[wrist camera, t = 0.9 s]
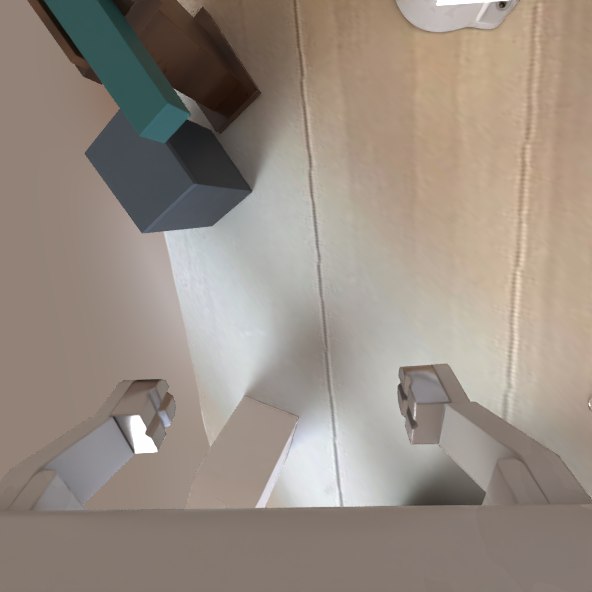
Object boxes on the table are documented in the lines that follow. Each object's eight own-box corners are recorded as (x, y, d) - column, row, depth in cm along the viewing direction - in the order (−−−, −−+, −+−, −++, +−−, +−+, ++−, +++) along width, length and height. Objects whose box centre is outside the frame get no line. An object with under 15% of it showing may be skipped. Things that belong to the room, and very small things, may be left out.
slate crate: (252, 191, 52) (194, 183, 36) (211, 226, 56) (141, 233, 40) (210, 130, 51) (131, 93, 35) (172, 169, 55) (83, 153, 39)
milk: (234, 438, 68) (152, 566, 43) (244, 395, 64) (160, 509, 40) (285, 460, 66) (229, 607, 41) (298, 417, 62) (245, 551, 38)
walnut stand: (265, 98, 48) (131, -27, 22) (224, 138, 51) (66, 69, 26) (204, 6, 47) (-11, -238, 21) (166, 53, 50) (-60, -109, 24)
